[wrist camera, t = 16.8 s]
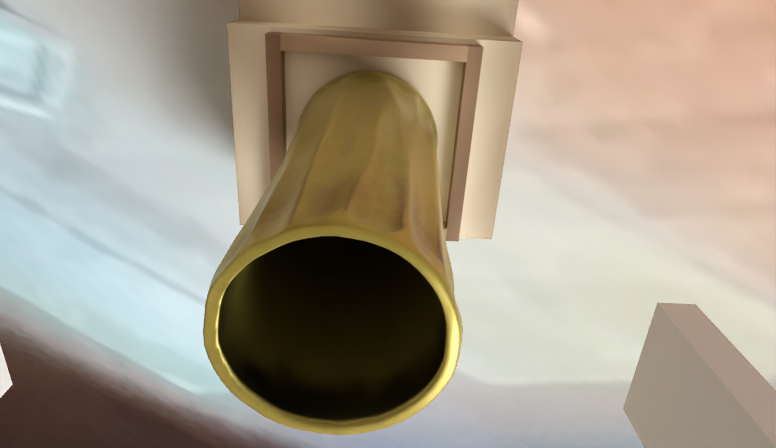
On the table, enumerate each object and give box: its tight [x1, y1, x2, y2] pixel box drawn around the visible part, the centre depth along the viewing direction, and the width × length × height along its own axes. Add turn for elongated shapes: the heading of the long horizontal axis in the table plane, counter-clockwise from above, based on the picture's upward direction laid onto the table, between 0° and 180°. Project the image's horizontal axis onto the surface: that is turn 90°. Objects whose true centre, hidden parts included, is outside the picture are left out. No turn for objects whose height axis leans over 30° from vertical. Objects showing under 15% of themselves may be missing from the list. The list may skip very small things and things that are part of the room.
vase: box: [203, 71, 462, 435], centre depth 17 cm, size 6×6×14 cm
